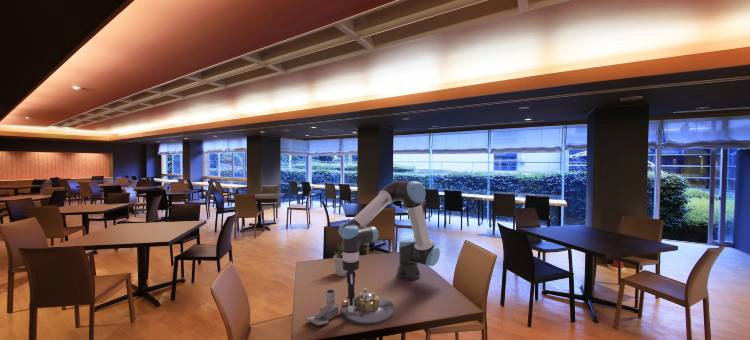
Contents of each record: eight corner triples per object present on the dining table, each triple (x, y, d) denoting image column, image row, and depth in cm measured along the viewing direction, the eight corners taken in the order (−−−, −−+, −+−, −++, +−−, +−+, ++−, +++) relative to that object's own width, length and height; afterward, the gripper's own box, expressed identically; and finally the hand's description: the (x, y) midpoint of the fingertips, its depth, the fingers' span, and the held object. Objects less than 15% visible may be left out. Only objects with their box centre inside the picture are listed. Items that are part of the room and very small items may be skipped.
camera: (342, 290, 135) (317, 303, 123) (342, 315, 135) (318, 330, 123) (329, 286, 140) (304, 298, 128) (329, 310, 141) (305, 324, 129)
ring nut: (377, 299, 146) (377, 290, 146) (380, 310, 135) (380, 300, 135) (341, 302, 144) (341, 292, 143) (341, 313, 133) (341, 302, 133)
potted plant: (357, 272, 191) (357, 242, 191) (344, 279, 180) (344, 247, 180) (342, 268, 198) (342, 239, 198) (329, 275, 187) (329, 244, 186)
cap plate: (388, 297, 154) (388, 282, 154) (398, 322, 129) (398, 304, 129) (341, 300, 151) (341, 285, 150) (342, 326, 126) (342, 308, 126)
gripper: (342, 256, 139) (342, 305, 139) (343, 265, 126) (343, 319, 126) (357, 255, 140) (357, 303, 140) (360, 264, 127) (360, 317, 127)
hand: (351, 311), depth 133 cm, fingers closed
